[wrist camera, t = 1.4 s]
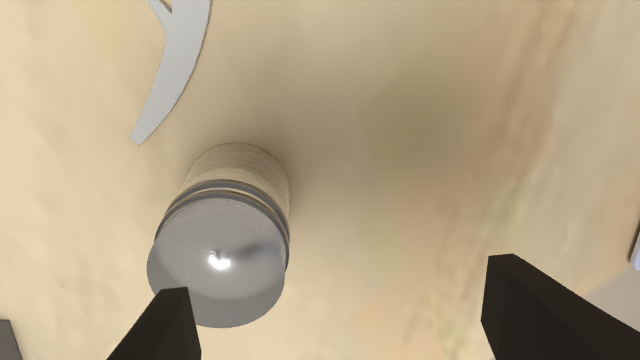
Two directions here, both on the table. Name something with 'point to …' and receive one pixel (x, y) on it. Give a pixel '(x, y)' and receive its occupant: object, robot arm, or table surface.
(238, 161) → the piston
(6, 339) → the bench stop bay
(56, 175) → the table surface
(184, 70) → the pliers
